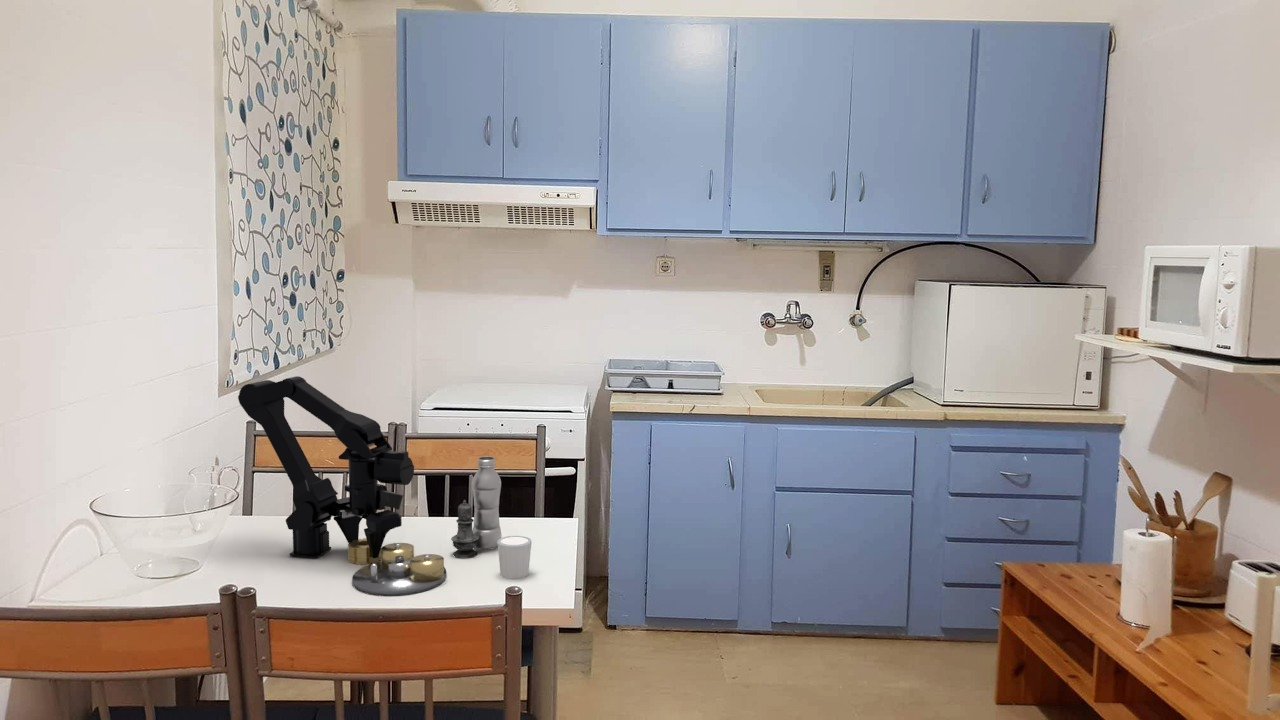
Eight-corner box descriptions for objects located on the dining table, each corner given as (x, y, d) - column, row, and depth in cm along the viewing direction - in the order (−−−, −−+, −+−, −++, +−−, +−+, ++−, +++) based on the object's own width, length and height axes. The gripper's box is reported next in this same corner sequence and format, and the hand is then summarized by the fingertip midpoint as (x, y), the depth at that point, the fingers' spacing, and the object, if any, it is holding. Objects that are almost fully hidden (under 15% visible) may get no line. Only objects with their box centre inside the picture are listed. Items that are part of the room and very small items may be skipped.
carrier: (335, 591, 180) (334, 564, 180) (378, 560, 198) (377, 535, 197) (424, 599, 177) (423, 572, 176) (460, 567, 195) (459, 542, 194)
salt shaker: (473, 559, 199) (472, 504, 198) (446, 557, 200) (446, 502, 199) (483, 550, 205) (482, 496, 203) (457, 548, 206) (457, 494, 205)
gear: (343, 559, 198) (342, 543, 198) (369, 552, 203) (369, 536, 202) (360, 566, 194) (360, 550, 193) (387, 559, 199) (386, 543, 198)
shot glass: (493, 570, 193) (493, 537, 192) (526, 566, 196) (526, 533, 195) (502, 581, 187) (502, 547, 186) (535, 577, 190) (535, 543, 189)
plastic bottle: (498, 541, 211) (498, 454, 209) (504, 551, 205) (504, 461, 202) (469, 544, 209) (469, 455, 207) (474, 554, 203) (473, 462, 200)
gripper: (422, 481, 196) (423, 554, 198) (371, 466, 208) (372, 535, 210) (376, 492, 188) (377, 567, 190) (325, 475, 200) (327, 547, 202)
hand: (364, 553), depth 198 cm, fingers open, 7 cm apart
